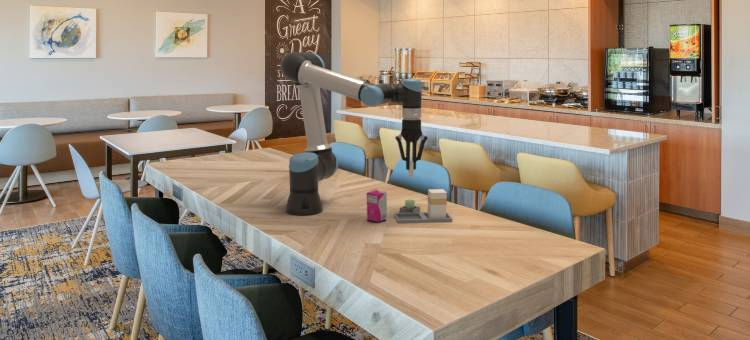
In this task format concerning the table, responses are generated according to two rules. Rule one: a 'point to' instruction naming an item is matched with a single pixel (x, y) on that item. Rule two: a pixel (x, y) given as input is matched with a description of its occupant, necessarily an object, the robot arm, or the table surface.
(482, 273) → the table surface
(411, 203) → the button
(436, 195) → the box
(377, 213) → the supplement box
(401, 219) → the grey divided tray
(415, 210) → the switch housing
